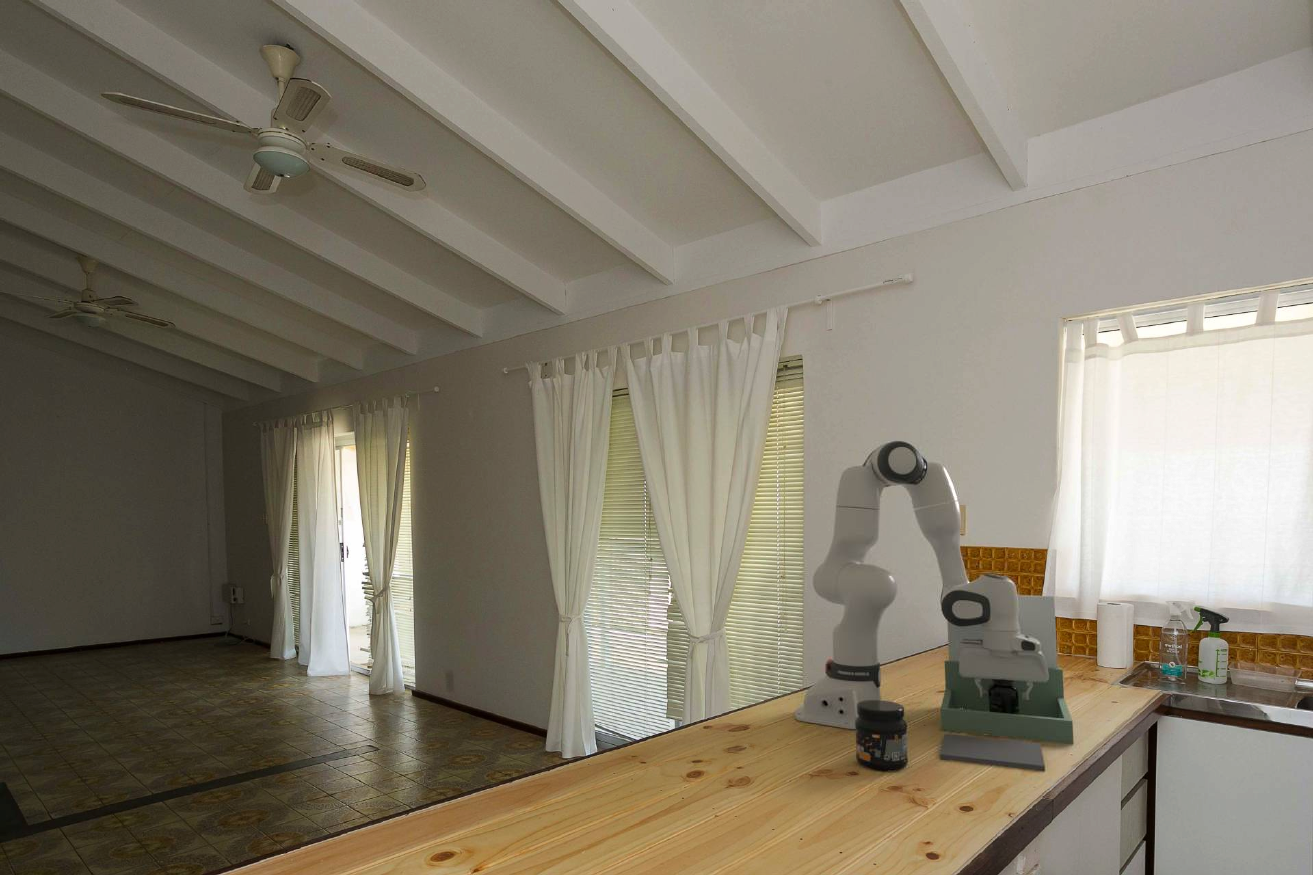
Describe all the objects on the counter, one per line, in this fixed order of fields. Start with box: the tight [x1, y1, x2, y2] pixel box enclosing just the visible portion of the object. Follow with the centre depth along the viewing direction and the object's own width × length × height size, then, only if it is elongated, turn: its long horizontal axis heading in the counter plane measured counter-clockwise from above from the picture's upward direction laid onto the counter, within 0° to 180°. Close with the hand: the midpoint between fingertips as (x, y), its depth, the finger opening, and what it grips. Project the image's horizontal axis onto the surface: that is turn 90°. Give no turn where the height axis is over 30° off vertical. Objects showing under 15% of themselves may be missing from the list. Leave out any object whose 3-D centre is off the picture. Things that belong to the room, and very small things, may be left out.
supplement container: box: [855, 699, 909, 772], centre depth 163 cm, size 10×10×12 cm
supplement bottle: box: [988, 679, 1020, 715], centre depth 192 cm, size 7×7×12 cm
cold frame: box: [940, 594, 1075, 745], centre depth 193 cm, size 28×25×30 cm
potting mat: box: [939, 733, 1046, 772], centre depth 169 cm, size 20×16×1 cm
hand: (1004, 697), depth 192 cm, fingers open, 8 cm apart
